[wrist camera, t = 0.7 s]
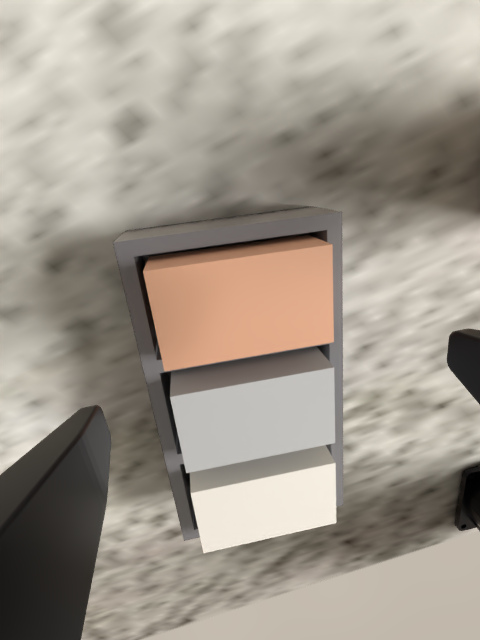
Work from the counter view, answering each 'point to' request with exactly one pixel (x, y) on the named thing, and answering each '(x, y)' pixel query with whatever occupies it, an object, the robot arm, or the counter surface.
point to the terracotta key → (241, 300)
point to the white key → (264, 497)
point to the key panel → (211, 234)
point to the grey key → (253, 407)
